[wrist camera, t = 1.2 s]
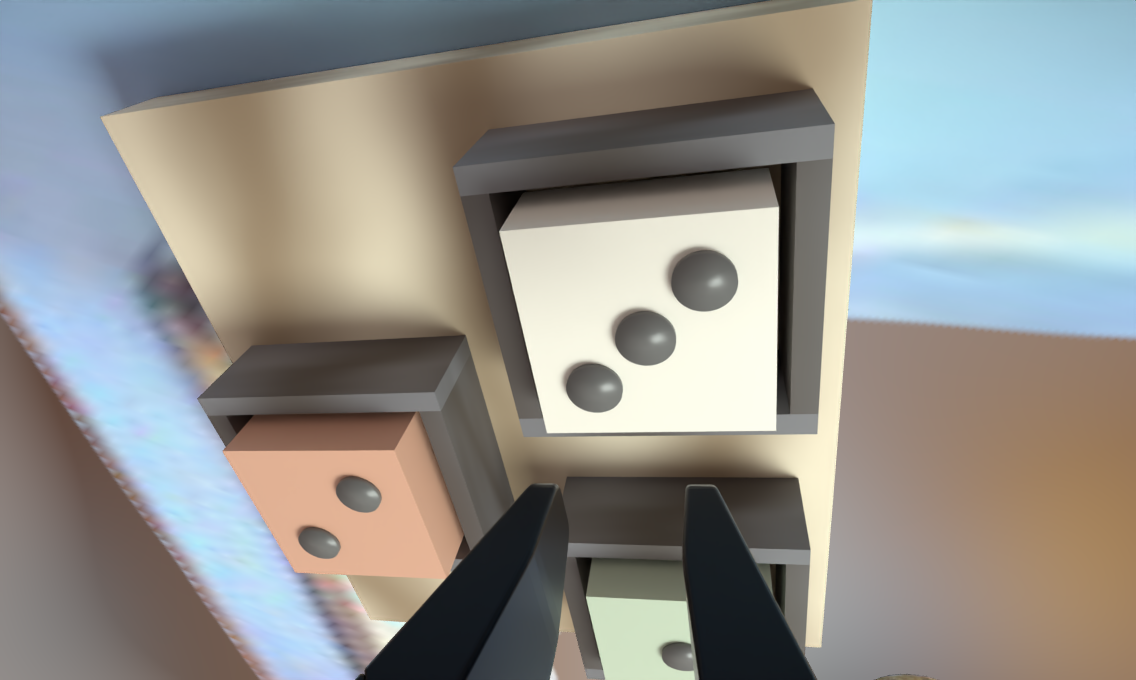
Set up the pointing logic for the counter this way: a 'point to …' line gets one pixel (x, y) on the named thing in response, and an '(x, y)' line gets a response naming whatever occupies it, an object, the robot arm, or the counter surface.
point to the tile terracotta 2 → (350, 492)
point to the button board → (480, 273)
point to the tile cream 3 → (650, 302)
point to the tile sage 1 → (642, 618)
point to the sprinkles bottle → (905, 677)
